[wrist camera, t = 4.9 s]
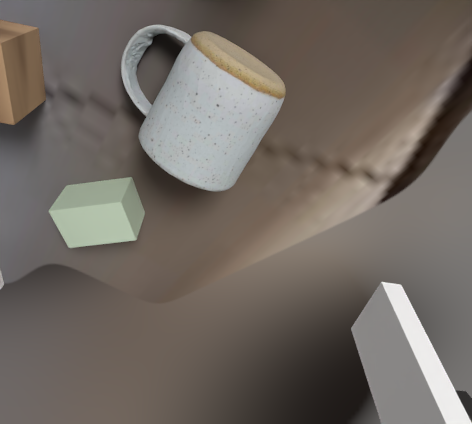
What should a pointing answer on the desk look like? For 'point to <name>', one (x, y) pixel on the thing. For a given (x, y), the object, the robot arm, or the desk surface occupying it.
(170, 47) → the desk surface
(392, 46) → the desk surface
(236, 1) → the desk surface
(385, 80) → the desk surface
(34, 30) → the walnut block
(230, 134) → the ceramic mug
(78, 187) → the sage green block
